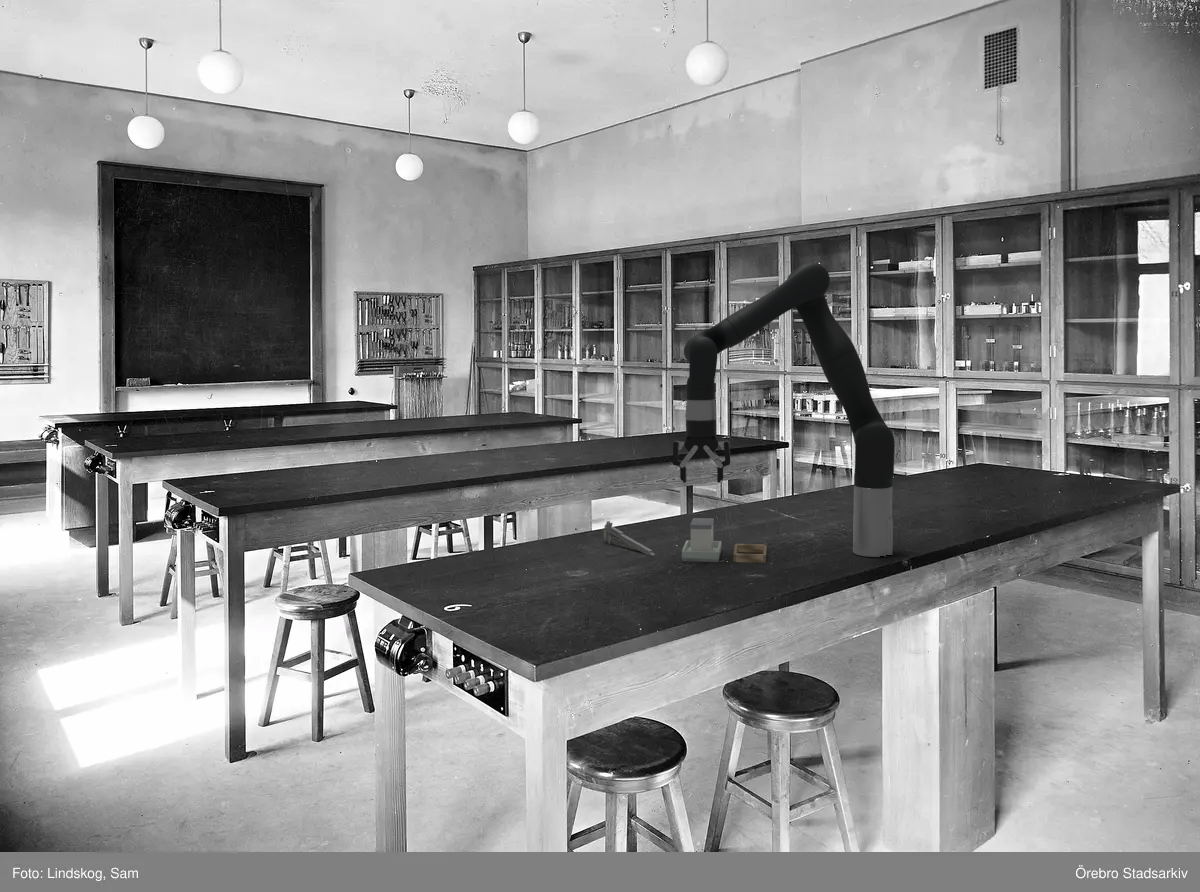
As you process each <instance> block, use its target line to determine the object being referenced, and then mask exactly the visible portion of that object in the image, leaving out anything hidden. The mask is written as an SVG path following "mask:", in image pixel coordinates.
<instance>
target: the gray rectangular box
mask: <svg viewBox="0 0 1200 892" xmlns="http://www.w3.org/2000/svg"><path fill="white" fill-rule="evenodd" d="M714 521H715V519H714V518H711V517H709V518H707V517H706V518H704V517H703V518H702V517H701V518H700V517H697V518H696V517H693V518H692V520H691V522H690V525H689V529H690V540H691V551H705V552H713V541H714V524H715V523H714Z"/></svg>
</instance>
